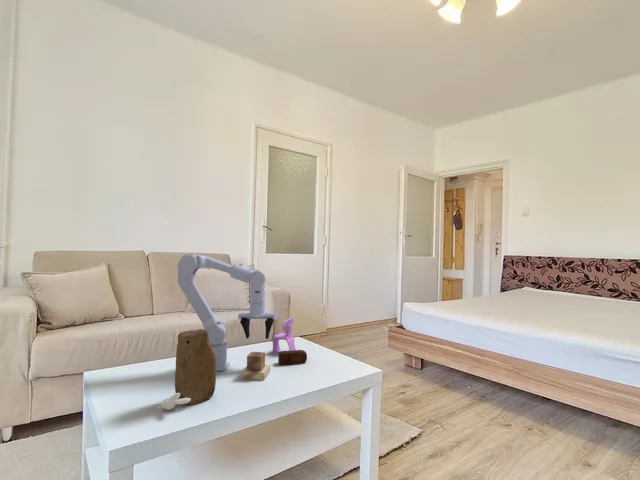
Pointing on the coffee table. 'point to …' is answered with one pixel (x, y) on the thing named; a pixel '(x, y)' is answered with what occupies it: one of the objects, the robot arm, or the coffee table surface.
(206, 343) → the brown rounded upright slab
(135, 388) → the coffee table surface
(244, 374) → the oak base
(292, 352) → the brick
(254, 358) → the walnut cube
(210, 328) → the robot arm
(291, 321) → the toy chair
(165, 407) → the rabbit figurine
